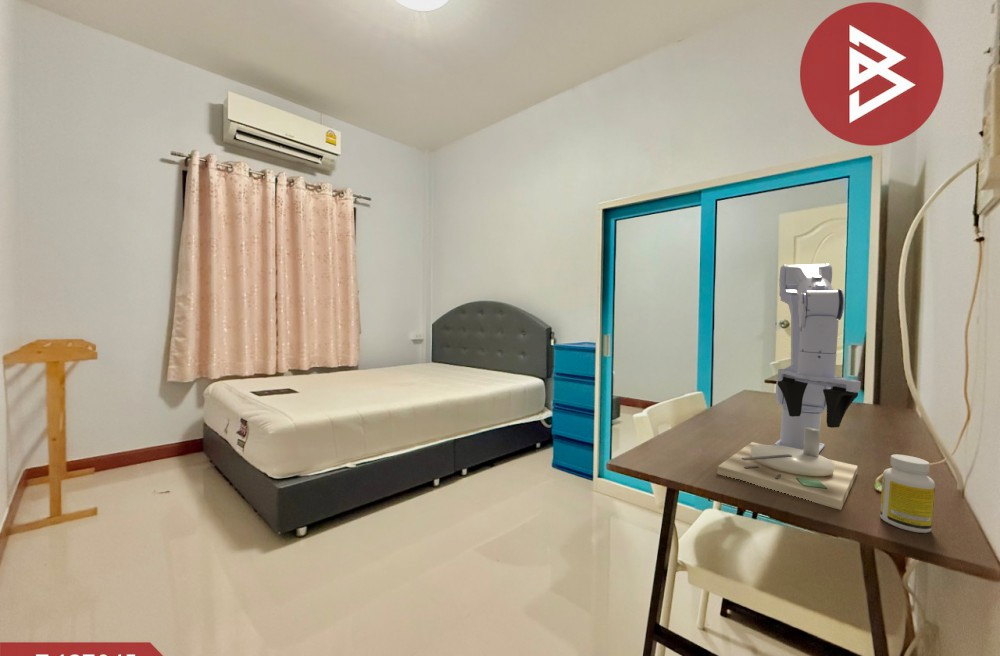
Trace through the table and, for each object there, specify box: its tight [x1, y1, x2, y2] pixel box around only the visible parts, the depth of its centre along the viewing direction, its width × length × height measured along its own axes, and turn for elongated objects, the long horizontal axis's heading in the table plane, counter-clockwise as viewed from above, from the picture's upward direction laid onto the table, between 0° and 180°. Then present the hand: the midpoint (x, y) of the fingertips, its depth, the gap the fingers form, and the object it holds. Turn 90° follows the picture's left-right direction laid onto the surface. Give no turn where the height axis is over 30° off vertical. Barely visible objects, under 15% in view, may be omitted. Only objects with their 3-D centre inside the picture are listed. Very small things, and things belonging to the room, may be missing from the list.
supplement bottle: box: [879, 453, 936, 534], centre depth 59 cm, size 5×5×10 cm
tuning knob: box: [742, 428, 834, 476], centre depth 77 cm, size 18×13×6 cm
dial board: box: [716, 441, 858, 511], centre depth 77 cm, size 22×18×2 cm
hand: (812, 421), depth 78 cm, fingers open, 7 cm apart
